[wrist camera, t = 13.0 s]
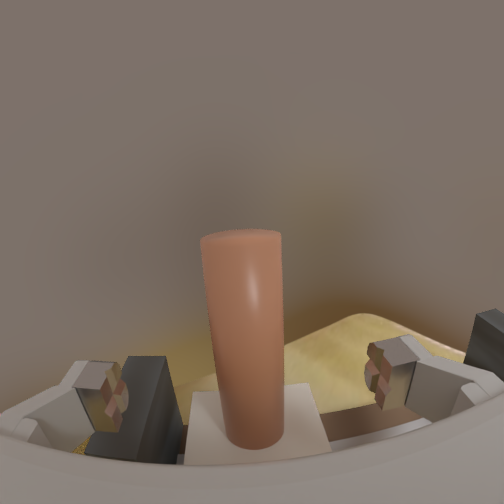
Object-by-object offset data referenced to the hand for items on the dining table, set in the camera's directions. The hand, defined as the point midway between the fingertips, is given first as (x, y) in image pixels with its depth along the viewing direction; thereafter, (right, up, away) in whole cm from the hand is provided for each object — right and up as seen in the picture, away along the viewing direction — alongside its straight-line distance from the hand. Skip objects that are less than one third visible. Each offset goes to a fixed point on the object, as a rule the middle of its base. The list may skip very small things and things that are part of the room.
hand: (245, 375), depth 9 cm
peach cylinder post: (+1, -8, +6) cm, 10 cm away
